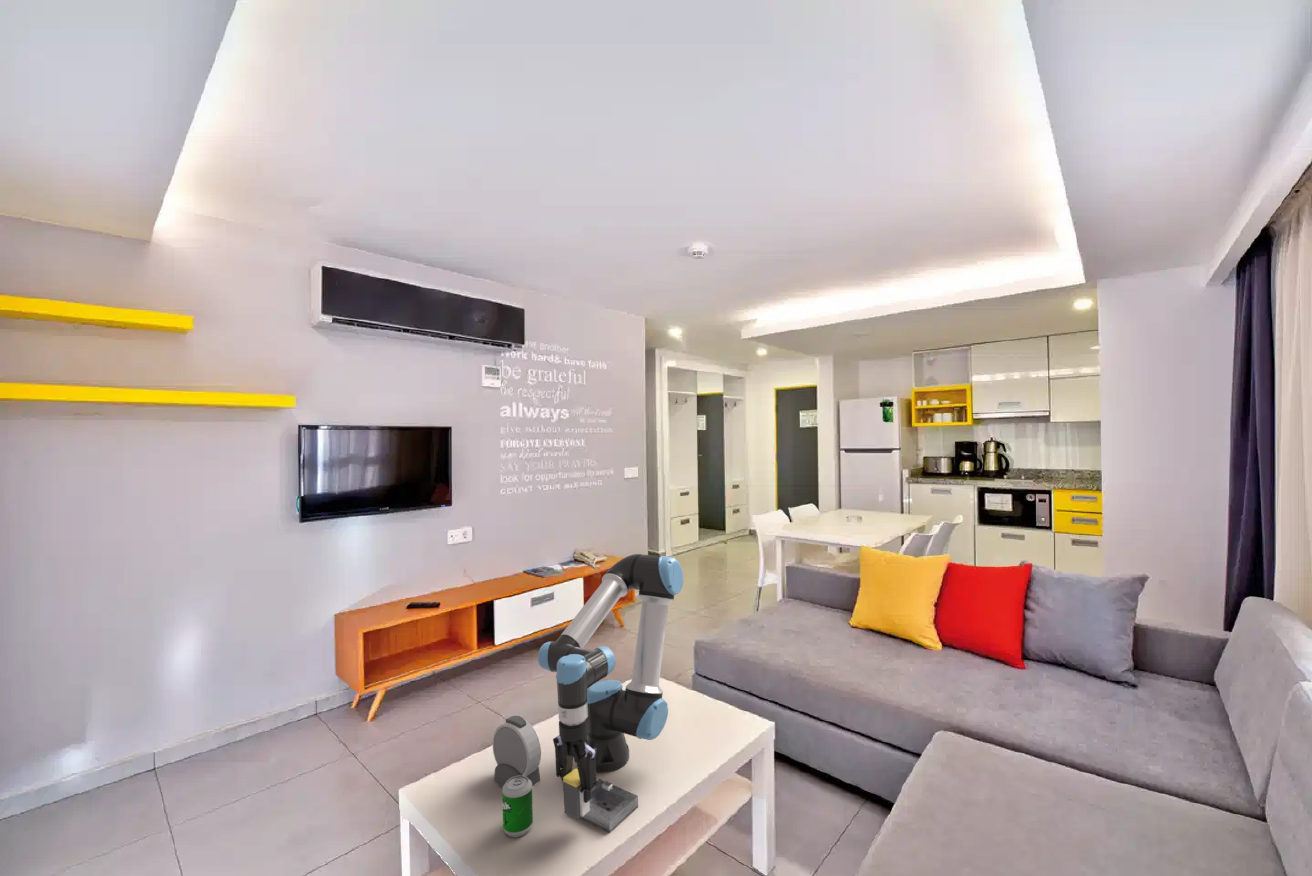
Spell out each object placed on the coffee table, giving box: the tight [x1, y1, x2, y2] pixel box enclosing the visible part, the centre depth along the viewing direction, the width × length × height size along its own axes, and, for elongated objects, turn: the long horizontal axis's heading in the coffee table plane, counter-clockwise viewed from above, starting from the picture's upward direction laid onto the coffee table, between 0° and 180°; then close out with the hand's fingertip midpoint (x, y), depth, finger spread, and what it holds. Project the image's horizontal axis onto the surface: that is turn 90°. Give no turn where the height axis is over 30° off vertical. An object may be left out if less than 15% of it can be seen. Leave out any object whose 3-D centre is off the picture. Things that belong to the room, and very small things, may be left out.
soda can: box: [501, 775, 534, 838], centre depth 140 cm, size 8×8×12 cm
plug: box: [562, 767, 590, 820], centre depth 139 cm, size 5×5×9 cm
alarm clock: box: [492, 715, 542, 789], centre depth 162 cm, size 16×10×18 cm, turn 56°
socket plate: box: [579, 778, 639, 833], centre depth 147 cm, size 14×12×4 cm
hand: (577, 809), depth 139 cm, fingers closed on plug, 5 cm apart
